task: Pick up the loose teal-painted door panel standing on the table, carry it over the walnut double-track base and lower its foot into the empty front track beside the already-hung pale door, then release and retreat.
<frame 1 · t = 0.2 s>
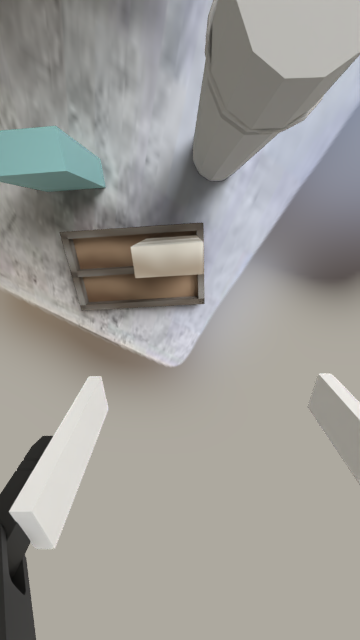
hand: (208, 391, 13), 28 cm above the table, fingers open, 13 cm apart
track base: (139, 267, 37), on the table
water bottle: (221, 147, 30), on the table
teal door: (73, 175, 32), on the table
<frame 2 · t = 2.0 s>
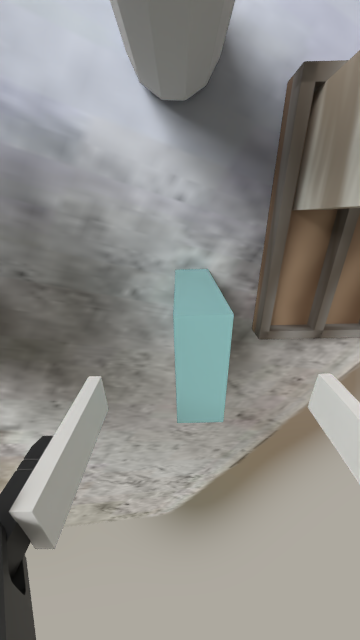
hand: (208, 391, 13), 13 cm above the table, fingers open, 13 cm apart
track base: (330, 231, 21), on the table
water bottle: (165, 30, 16), on the table
teal door: (191, 307, 25), on the table
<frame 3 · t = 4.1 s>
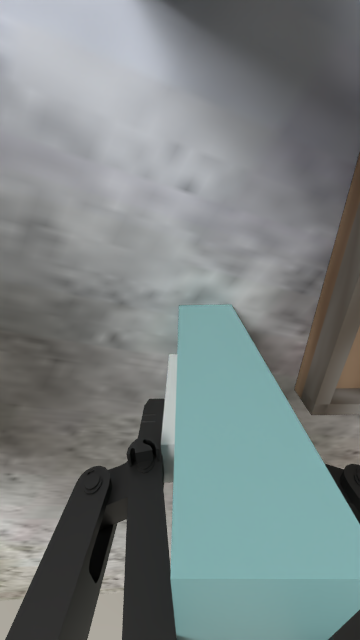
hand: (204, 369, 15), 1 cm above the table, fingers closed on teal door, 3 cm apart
teal door: (203, 360, 16), on the table, touching gripper
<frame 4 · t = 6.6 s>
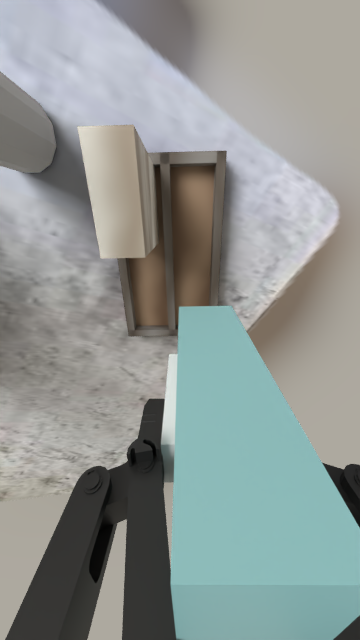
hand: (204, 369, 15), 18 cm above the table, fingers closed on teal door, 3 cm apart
track base: (169, 256, 29), on the table
water bottle: (20, 129, 24), on the table
teal door: (203, 361, 16), point 17 cm above the table, touching gripper
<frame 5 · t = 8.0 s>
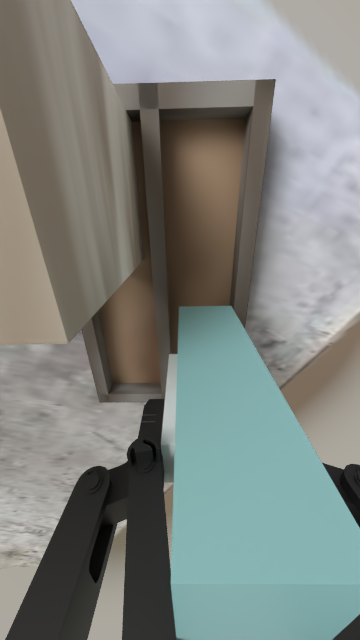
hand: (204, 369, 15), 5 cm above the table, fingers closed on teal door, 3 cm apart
track base: (163, 281, 18), on the table
teal door: (203, 361, 16), point 4 cm above the table, touching gripper
when the fingers open (3 cm above the table, at t = 9.0 s): teal door stays where it is, resting on track base.
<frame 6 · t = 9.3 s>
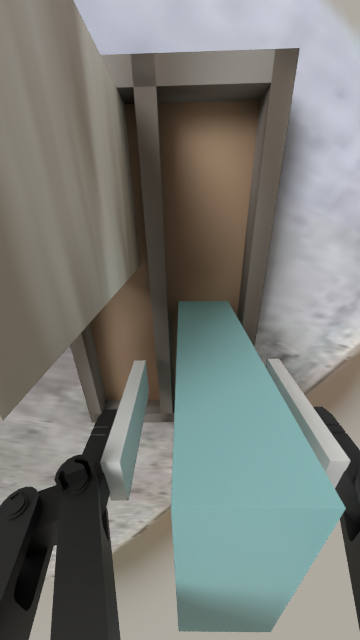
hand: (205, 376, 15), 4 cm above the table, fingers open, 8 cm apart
track base: (162, 289, 16), on the table
teal door: (201, 353, 17), point 1 cm above the table, touching track base
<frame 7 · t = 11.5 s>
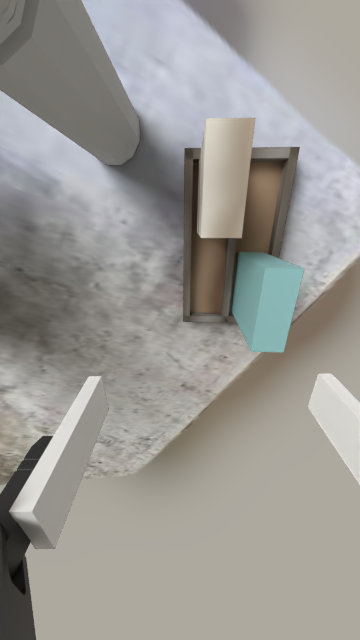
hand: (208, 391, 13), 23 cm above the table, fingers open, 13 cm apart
track base: (228, 247, 31), on the table
water bottle: (107, 125, 26), on the table
teal door: (246, 283, 32), point 1 cm above the table, touching track base
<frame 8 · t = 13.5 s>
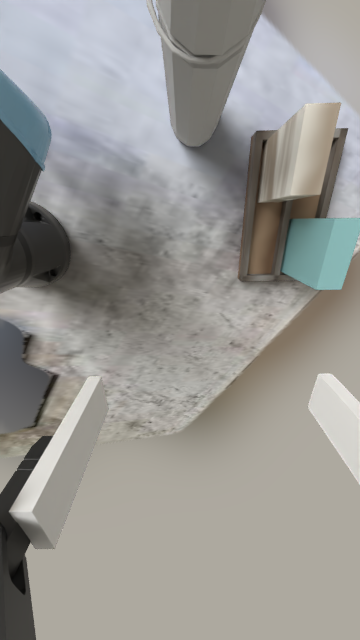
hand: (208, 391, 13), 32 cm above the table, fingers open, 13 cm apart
track base: (280, 215, 37), on the table
water bottle: (189, 113, 32), on the table
teal door: (294, 246, 39), point 1 cm above the table, touching track base
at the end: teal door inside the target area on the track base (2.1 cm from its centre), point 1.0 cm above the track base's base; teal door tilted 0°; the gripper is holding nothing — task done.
